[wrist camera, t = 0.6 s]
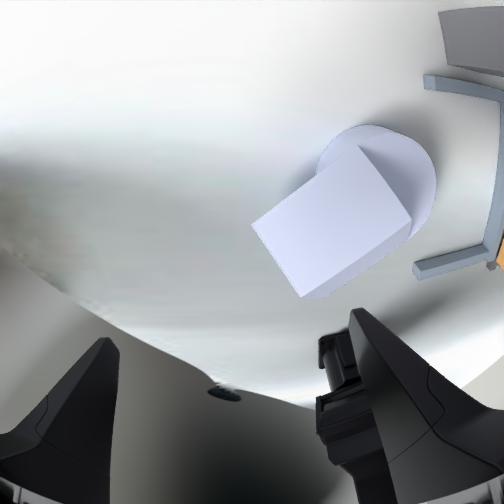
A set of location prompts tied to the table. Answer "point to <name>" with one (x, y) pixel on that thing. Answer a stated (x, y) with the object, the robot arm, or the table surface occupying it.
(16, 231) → the table surface
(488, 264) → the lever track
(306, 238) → the wedge on round base
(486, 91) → the press bed
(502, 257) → the tan wooden cube
